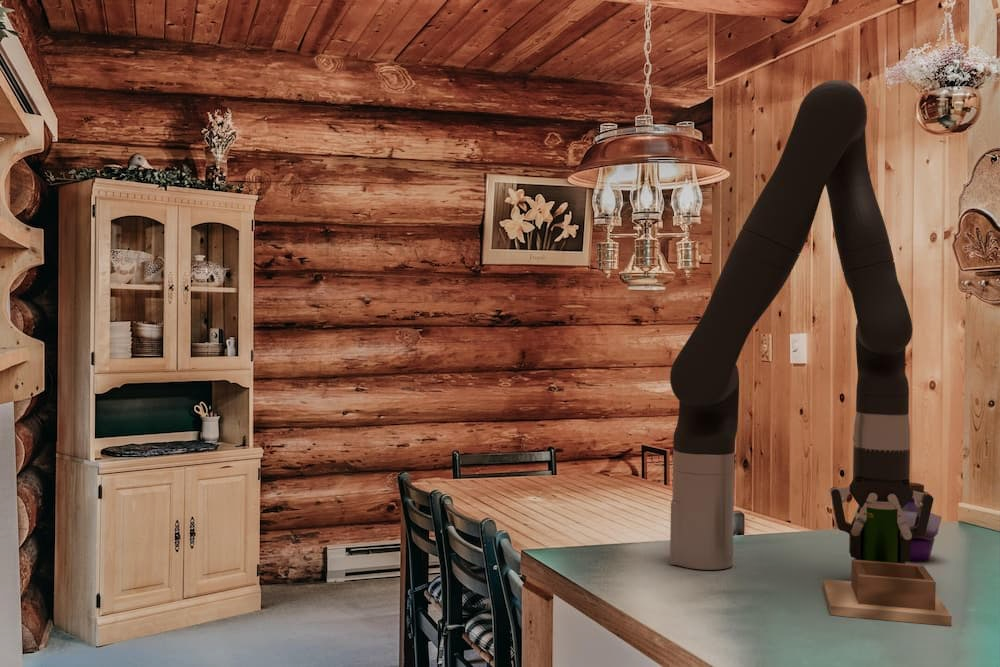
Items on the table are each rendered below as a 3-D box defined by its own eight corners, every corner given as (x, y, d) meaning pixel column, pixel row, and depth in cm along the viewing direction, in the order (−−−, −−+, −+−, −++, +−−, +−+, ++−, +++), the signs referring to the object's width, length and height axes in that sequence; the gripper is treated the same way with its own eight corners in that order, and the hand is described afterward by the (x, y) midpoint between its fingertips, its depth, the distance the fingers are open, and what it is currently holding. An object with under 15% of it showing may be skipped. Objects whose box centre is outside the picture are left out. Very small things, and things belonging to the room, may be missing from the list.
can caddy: (830, 615, 118) (831, 578, 118) (822, 587, 130) (823, 554, 130) (951, 625, 114) (952, 587, 114) (931, 596, 126) (932, 562, 126)
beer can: (884, 589, 130) (885, 503, 130) (850, 580, 134) (852, 497, 134) (907, 584, 133) (908, 500, 132) (873, 575, 137) (875, 494, 137)
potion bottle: (870, 555, 149) (871, 480, 149) (904, 549, 154) (906, 477, 154) (918, 567, 142) (920, 489, 142) (953, 561, 146) (954, 485, 146)
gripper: (830, 445, 131) (828, 565, 132) (941, 450, 128) (939, 573, 128) (826, 439, 139) (824, 552, 139) (931, 444, 135) (929, 560, 135)
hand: (879, 562), depth 133 cm, fingers closed on beer can, 5 cm apart
